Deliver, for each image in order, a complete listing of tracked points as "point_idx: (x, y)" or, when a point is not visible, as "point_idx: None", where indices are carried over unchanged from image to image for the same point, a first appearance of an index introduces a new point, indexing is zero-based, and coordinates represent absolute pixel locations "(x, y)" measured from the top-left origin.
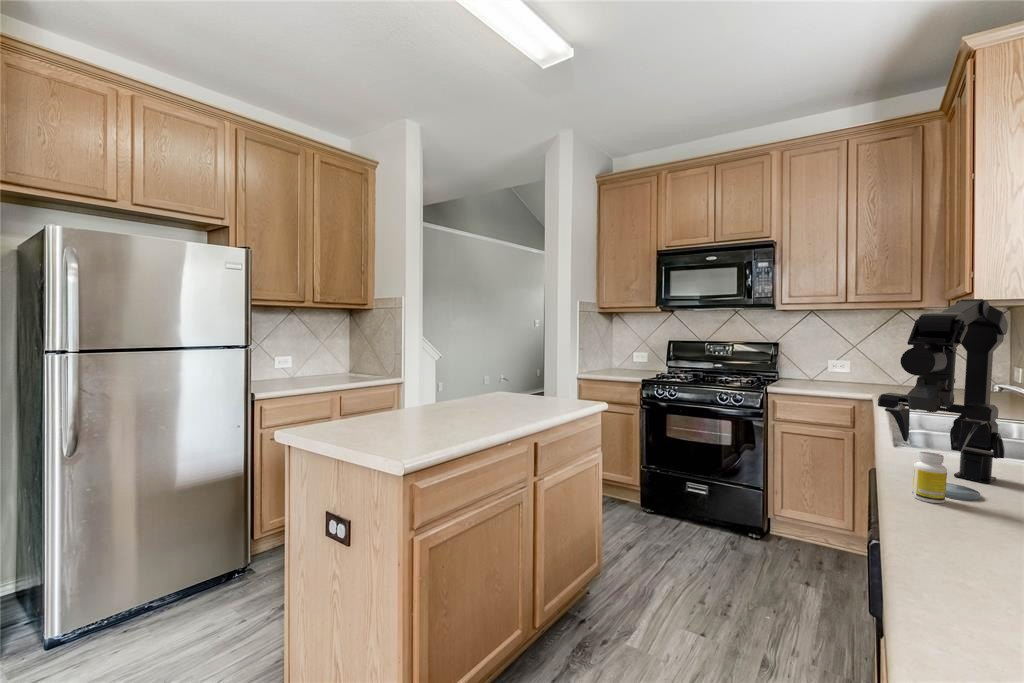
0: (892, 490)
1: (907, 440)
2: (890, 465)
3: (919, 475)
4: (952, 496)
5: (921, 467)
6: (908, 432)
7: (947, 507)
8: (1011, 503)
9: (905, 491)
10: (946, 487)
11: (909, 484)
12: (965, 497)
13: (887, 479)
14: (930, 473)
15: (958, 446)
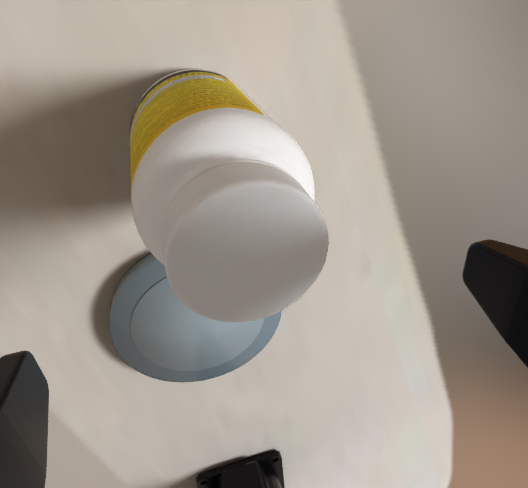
0: (333, 109)
1: (466, 279)
2: (423, 384)
3: (240, 98)
4: None
5: (247, 115)
6: (523, 348)
7: (87, 92)
8: None
9: None
10: None
11: None
12: (125, 281)
13: (391, 242)
14: (182, 113)
15: (5, 387)
